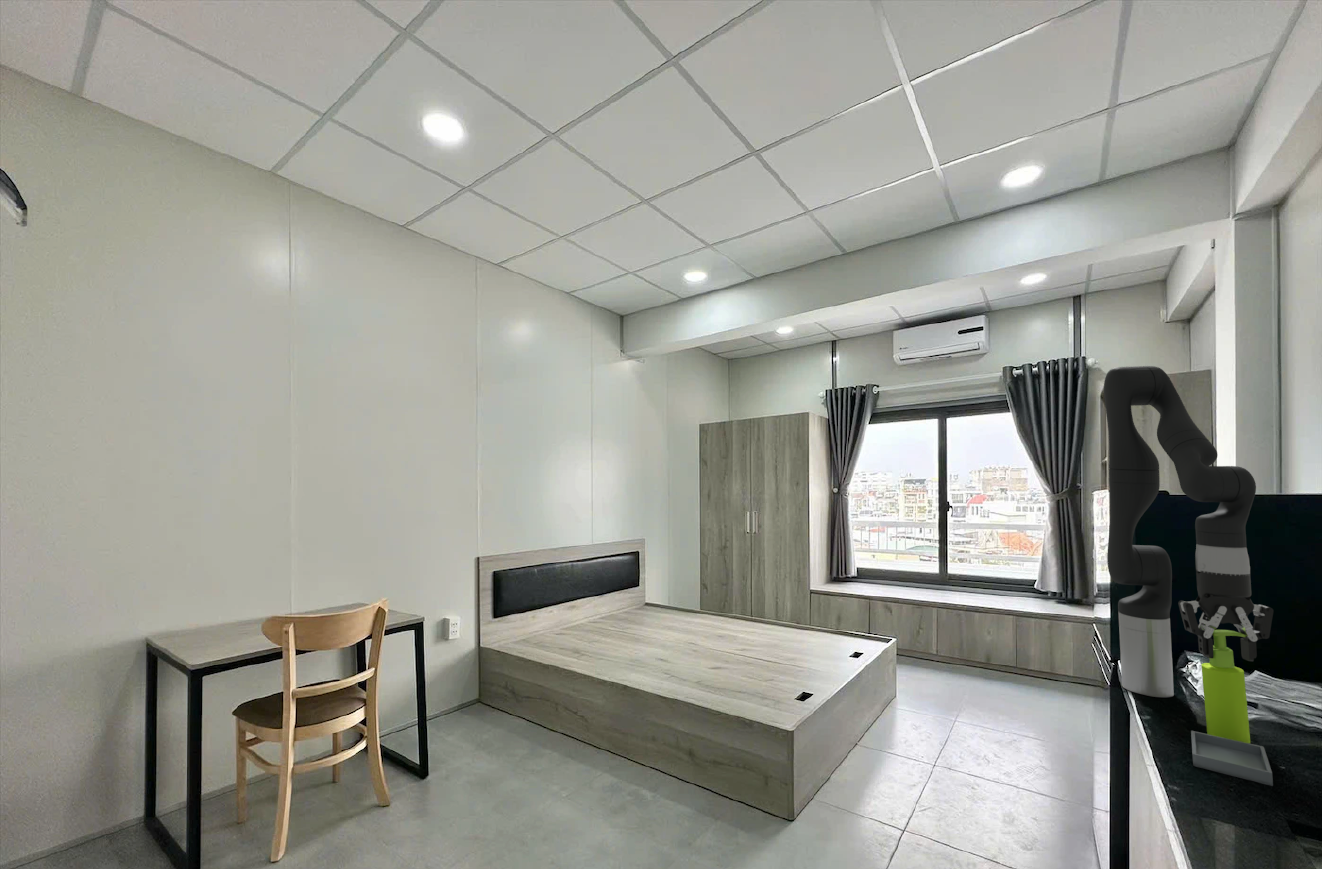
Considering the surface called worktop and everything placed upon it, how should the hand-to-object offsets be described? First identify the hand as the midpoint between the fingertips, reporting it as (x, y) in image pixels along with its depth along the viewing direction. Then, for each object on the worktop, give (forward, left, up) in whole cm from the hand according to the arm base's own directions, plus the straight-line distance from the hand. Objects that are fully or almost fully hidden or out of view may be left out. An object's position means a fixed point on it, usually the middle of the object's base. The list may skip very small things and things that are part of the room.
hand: (1227, 658), depth 110 cm
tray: (+11, -6, -15) cm, 20 cm away
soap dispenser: (0, 0, -15) cm, 15 cm away
